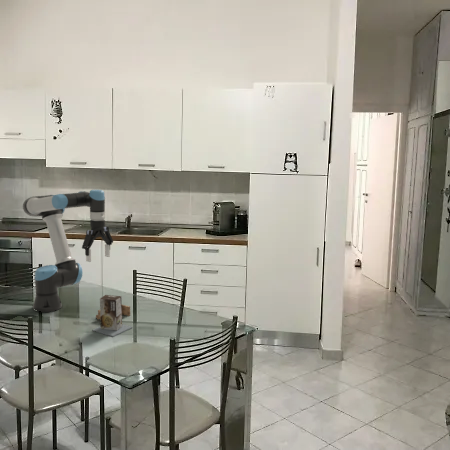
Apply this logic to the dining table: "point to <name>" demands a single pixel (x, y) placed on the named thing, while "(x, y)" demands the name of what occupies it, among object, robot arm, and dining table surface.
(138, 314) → the dining table surface
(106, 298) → the coffee box
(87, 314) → the dining table surface
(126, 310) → the slot rack
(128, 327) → the rubber mat
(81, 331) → the dining table surface
